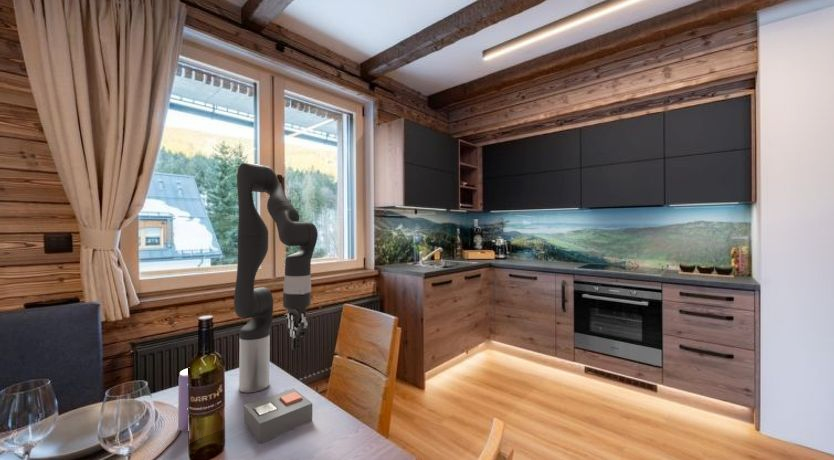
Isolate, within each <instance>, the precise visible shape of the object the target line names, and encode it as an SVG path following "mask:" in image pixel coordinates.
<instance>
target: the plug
mask: <svg viewBox="0 0 834 460" xmlns="http://www.w3.org/2000/svg"><path fill="white" fill-rule="evenodd" d="M275 410H277V408H276V407H275V406H274V405H273V404H272V403H268V404H265V405H262V406H260V407H257V408H254V411H255V412H256V413H257V415H258V416H261V415H264V414H267V413H269V412H272V411H275Z"/></svg>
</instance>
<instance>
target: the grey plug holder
mask: <svg viewBox="0 0 834 460" xmlns="http://www.w3.org/2000/svg"><path fill="white" fill-rule="evenodd" d="M293 392H296V393H297V394H299V395H300V396H301V397H302V400H301V401H299V402H296V403H293V404H291V405H288V406H285V405H284V404H283V403H282V402H281V401H280V397H281V396H284V395H287V394H290V393H293ZM268 403H272V404H273V405H274V406H275V407H276V408H277V410H275V411H272V412H269V413H267V414H264V415H261V416H258V415H257V413H256V412H255V411H254V408H257V407H260V406H262V405H265V404H268ZM243 406H244V407H243V424H244V425H245V426H246V428H247V429H248V431H249V432H250V433H251V434H252V436H253V438H255V440H256V441H257V442H258V443H259V444H263V443H265V442H267V441H270V440H272V439H274V438H278V436H281V435H284V434H286V433H288V432H290V431H293V430H295V429H297V428H300V427H302V426H305V425H306V424H308V423H311V422H313V402H312V401H310V400H309V399H308V398H307V397H305V396H304V395H303V394H302V393H300V392H299V390H297V389H295V388H291V389H288V390H284V391H281V392H279V393H277V394H273V395H270V396H267V397H263V398H261V399H258V400H255V401H252V402H250V403H247V404H244V405H243Z"/></svg>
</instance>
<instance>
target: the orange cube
mask: <svg viewBox="0 0 834 460" xmlns="http://www.w3.org/2000/svg"><path fill="white" fill-rule="evenodd" d="M301 400H302V397H301V396H300V395H299V394H297V393H296V392H293V393H290V394H287V395H284V396H281V397H280V401H281V402H282V403H283V404H284V405H285V406H288V405H291V404H293V403H296V402H299V401H301Z"/></svg>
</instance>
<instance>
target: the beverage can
mask: <svg viewBox="0 0 834 460" xmlns="http://www.w3.org/2000/svg"><path fill="white" fill-rule="evenodd" d="M188 368H189V367H188ZM188 368H185V369H183V370H181V371H180V372H179V376H178V399H177V400H178V402H177V403H178V404H177V405H178V406H177V407H178V410H177V411H178V412H177V414H178V416H177V417H178V419H177V420H178V421H177V423H178V425H177V426H178V427H177V428H178V430H179V431H180V430H181V432H185V433H186V432H189V431H188V410H187V408H188V386H187V383H188Z"/></svg>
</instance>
